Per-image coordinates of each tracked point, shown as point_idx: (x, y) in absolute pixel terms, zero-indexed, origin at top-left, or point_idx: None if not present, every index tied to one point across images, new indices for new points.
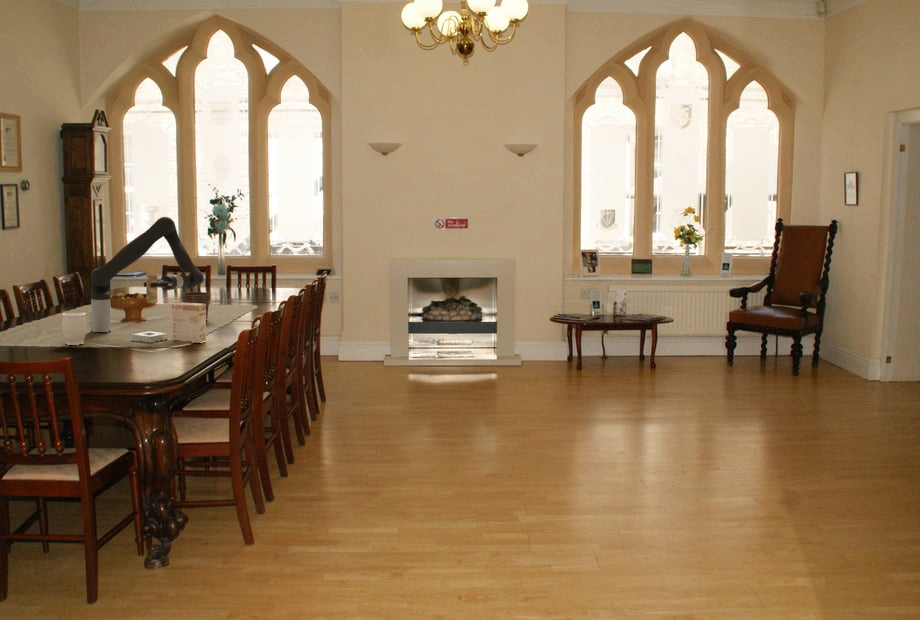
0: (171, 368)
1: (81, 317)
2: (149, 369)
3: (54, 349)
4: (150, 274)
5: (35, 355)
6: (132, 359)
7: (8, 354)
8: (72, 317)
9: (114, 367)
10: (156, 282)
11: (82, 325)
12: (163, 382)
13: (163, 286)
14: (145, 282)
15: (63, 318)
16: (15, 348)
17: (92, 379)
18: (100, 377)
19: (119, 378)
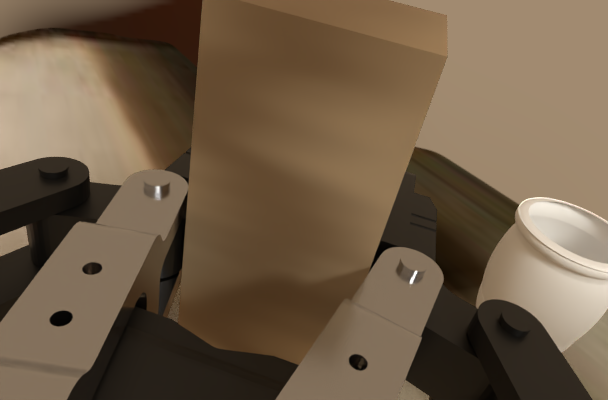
0: (6, 88)
1: (517, 227)
2: (69, 87)
3: (471, 253)
4: (387, 16)
5: (435, 188)
6: (146, 155)
7: (502, 195)
8: (531, 209)
9: (164, 102)
10: (197, 198)
11: (494, 258)
12: (24, 33)
13: (15, 251)
14: None
15: (582, 232)
16: None
17: (171, 56)
18: (161, 61)
19: (121, 54)
